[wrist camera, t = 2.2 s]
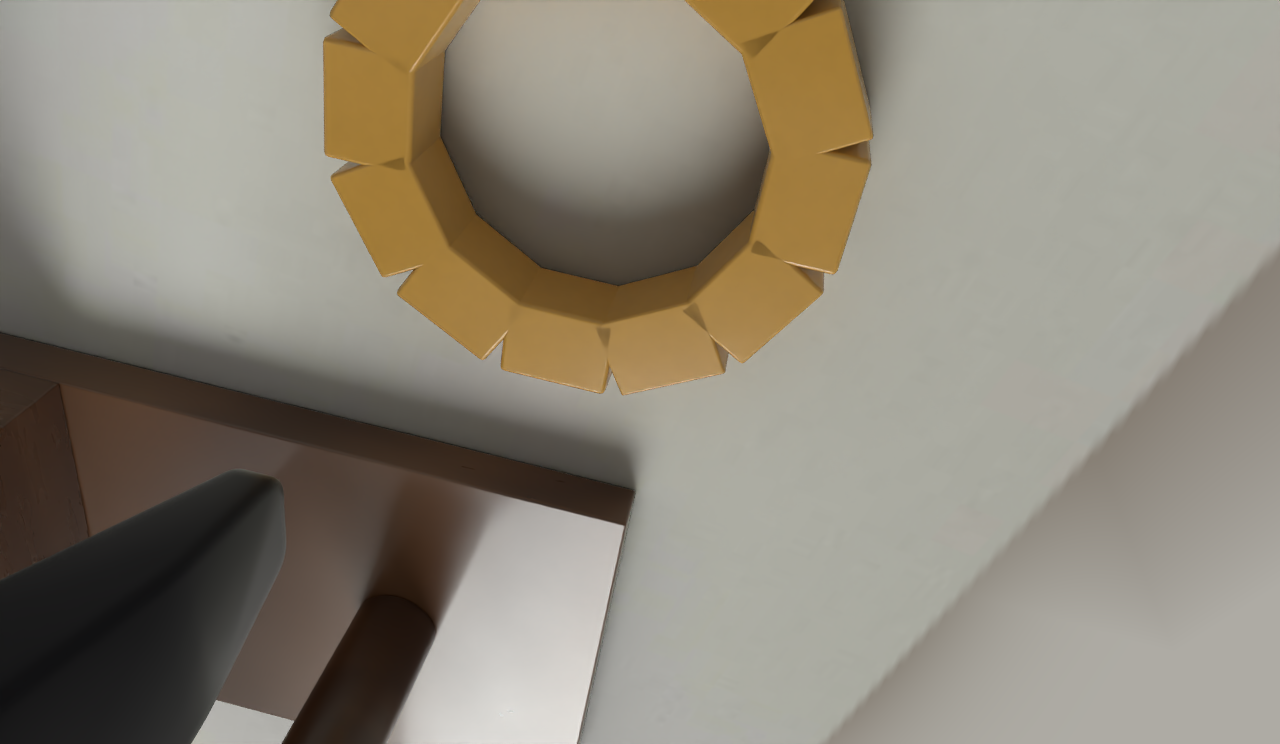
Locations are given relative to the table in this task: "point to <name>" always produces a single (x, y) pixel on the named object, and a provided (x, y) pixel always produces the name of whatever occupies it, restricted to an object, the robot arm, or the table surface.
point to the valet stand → (338, 550)
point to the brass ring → (575, 306)
